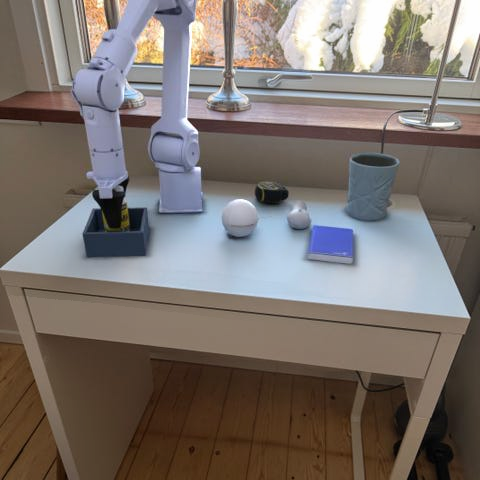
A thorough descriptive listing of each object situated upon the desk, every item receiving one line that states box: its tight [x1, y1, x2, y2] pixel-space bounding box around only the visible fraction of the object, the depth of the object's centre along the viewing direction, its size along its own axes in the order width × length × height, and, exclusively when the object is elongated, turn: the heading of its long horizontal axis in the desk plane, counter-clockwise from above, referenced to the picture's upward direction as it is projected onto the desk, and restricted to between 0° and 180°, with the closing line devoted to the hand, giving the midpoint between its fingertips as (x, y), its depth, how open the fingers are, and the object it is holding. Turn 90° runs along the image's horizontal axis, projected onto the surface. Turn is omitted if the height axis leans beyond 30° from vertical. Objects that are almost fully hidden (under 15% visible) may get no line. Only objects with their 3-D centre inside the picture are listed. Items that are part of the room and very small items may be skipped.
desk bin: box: [82, 206, 150, 258], centre depth 89 cm, size 11×12×5 cm
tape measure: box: [254, 180, 289, 204], centre depth 109 cm, size 7×7×4 cm
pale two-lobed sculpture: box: [286, 199, 312, 230], centre depth 98 cm, size 4×8×5 cm
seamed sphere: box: [221, 198, 273, 238], centre depth 92 cm, size 10×7×7 cm
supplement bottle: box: [102, 185, 130, 232], centre depth 87 cm, size 5×5×8 cm
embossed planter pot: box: [346, 152, 401, 222], centre depth 101 cm, size 10×10×12 cm
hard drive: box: [307, 224, 354, 265], centre depth 90 cm, size 2×8×12 cm
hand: (116, 221), depth 88 cm, fingers closed on supplement bottle, 5 cm apart
